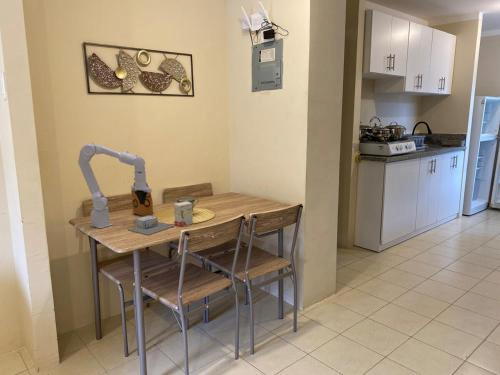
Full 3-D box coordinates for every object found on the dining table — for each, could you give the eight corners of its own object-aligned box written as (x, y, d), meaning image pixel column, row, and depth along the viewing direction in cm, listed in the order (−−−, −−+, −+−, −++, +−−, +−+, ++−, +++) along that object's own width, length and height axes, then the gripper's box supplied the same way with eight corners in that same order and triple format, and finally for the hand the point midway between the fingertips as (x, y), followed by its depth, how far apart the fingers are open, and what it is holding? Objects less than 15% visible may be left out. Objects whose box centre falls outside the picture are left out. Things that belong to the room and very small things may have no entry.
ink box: (179, 227, 194) (178, 205, 191) (174, 225, 197) (173, 203, 195) (193, 223, 199) (192, 202, 197) (187, 222, 203) (186, 201, 201)
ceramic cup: (181, 218, 210) (180, 201, 209) (175, 214, 219) (174, 198, 217) (202, 215, 217) (201, 198, 215) (195, 211, 225) (195, 195, 223)
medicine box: (147, 215, 200) (157, 217, 195) (148, 223, 201) (158, 225, 196) (135, 218, 194) (145, 220, 189) (135, 226, 195) (145, 229, 190)
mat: (127, 230, 190) (127, 229, 190) (154, 222, 204) (154, 221, 204) (148, 235, 181) (148, 234, 181) (175, 226, 195) (175, 225, 195)
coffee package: (140, 217, 214) (137, 180, 210) (130, 213, 223) (128, 177, 219) (155, 214, 220) (153, 178, 216) (146, 210, 229) (143, 175, 225)
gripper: (155, 179, 198) (156, 204, 201) (137, 177, 206) (139, 201, 209) (144, 181, 192) (146, 206, 195) (127, 179, 201) (129, 203, 203)
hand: (142, 204), depth 202 cm, fingers closed
